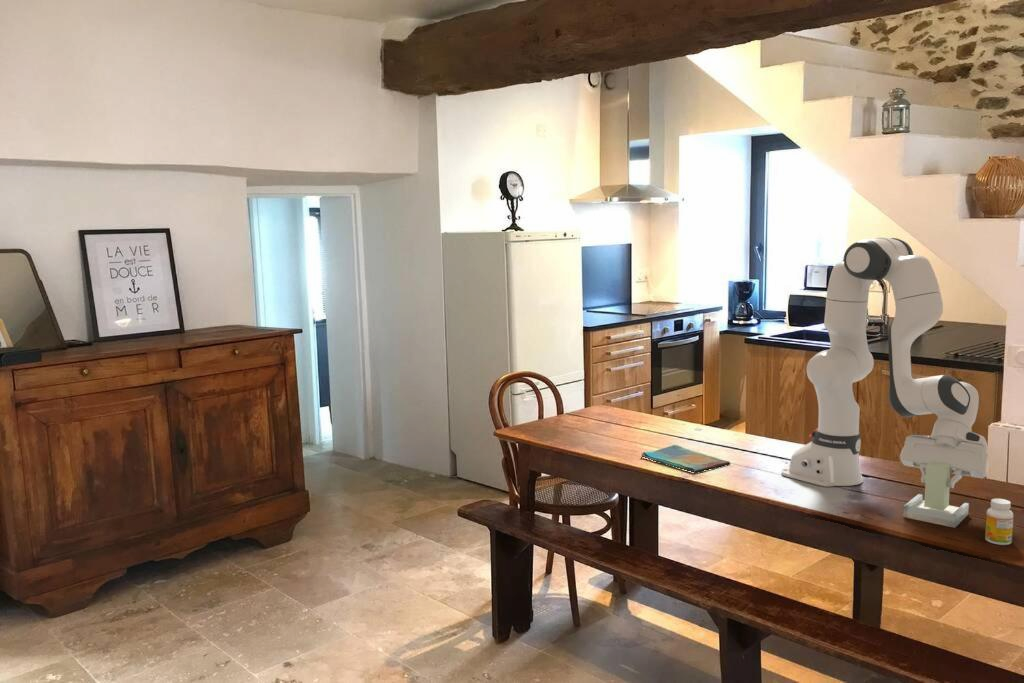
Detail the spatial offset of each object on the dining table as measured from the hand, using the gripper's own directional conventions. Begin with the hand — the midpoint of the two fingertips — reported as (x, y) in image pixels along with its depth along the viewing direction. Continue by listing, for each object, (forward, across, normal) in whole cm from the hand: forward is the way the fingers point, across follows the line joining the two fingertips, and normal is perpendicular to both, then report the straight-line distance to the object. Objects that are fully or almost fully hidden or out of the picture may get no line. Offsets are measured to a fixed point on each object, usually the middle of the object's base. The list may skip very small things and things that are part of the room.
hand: (936, 484), depth 209 cm
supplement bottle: (+12, +16, 0) cm, 20 cm away
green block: (+4, 0, +5) cm, 6 cm away
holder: (+6, 0, +6) cm, 8 cm away
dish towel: (+3, -75, +10) cm, 76 cm away
